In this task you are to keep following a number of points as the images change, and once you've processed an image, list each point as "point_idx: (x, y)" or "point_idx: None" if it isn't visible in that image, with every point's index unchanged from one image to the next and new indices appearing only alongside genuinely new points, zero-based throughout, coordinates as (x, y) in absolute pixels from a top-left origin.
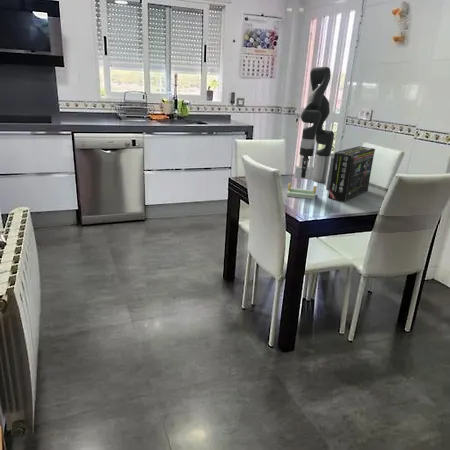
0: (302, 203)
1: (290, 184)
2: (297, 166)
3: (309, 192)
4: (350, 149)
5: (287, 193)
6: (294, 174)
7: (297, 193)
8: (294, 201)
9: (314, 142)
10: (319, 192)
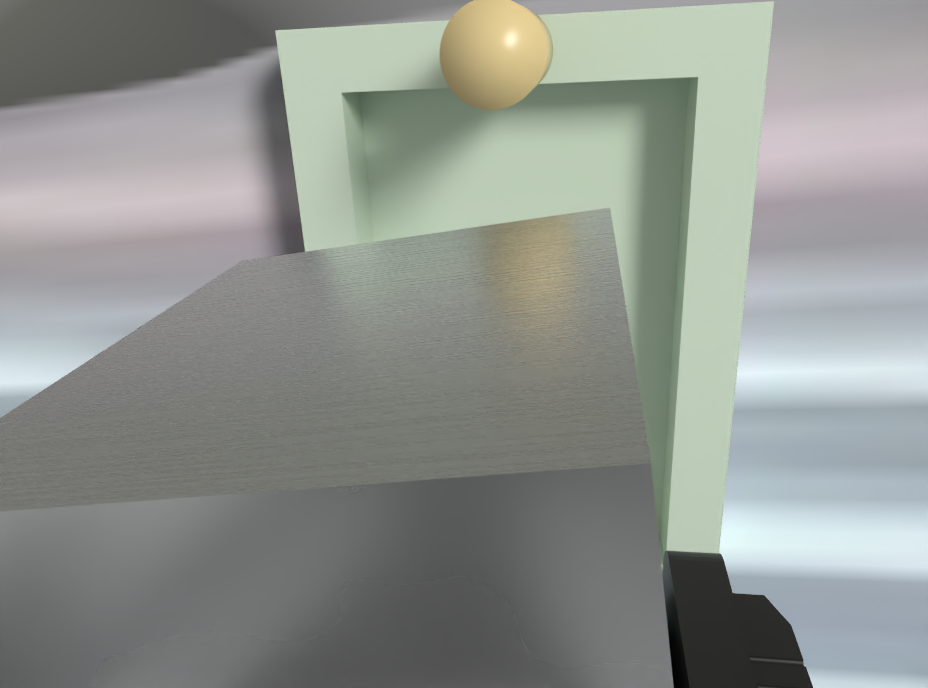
0: (28, 369)
1: (450, 81)
2: (533, 651)
3: (666, 485)
4: None
5: (288, 44)
6: (501, 248)
7: None
8: (46, 234)
9: None
10: (887, 631)
